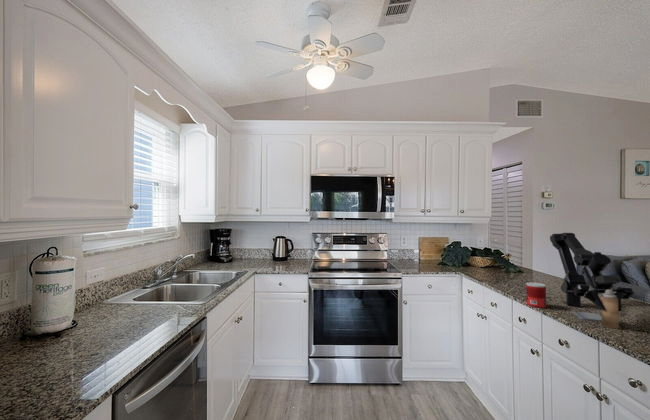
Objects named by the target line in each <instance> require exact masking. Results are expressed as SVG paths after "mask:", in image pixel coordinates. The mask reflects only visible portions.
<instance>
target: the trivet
mask: <svg viewBox="0 0 650 420" xmlns="http://www.w3.org/2000/svg"><path fill="white" fill-rule="evenodd" d="M572 314H573V315H575V316H576V317H577V318H579V319H580V320H581V319H582V320H581V321H587V320H588V321H589V322H597V321H600V323H602V318H601V315H600V314H598V313H596V312H595V313H593V312H584V311H574V310H573V311H572Z"/></svg>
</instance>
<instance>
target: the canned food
mask: <svg viewBox="0 0 650 420" xmlns="http://www.w3.org/2000/svg"><path fill="white" fill-rule="evenodd" d="M525 289H526V295H525V296H526V305H527V306H529V307H532V308H537V309H545V308H546V307H547V285H546V284H544V283H539V282H533V281H532V282H530V281H529V282H526V284H525Z"/></svg>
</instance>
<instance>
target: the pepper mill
mask: <svg viewBox="0 0 650 420" xmlns="http://www.w3.org/2000/svg"><path fill="white" fill-rule="evenodd" d="M610 289H611V288H610ZM610 289H608V290H606V291H605V293H603V294H602V295H601V296H600V300H601V302H602V304H603V305H604V308H605V310H602V309H601V308H600V309H601V313H600V314H601V315H600V316H601V318H602V322H601V326H602V325H603V326H602V327H605V328H608V329H616V330H617V329H620V326H619V319H620V318H619V317H620V316H619V311H618V298H616V295H614V292H613V291H612V290H613V289H612V290H610Z"/></svg>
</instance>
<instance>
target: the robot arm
mask: <svg viewBox="0 0 650 420" xmlns="http://www.w3.org/2000/svg"><path fill="white" fill-rule="evenodd" d="M549 240H550V242H551V244H552V247H554V248H555V249H556V250H557V251H558V253H559V257H560V260H561V261H560V262H561V264H562V266H563V270H564V274H565V276H564V278H563V283H562V284H561V285H560V291H561V292H563V293H565V300H563V301H562V302H563V303H564V304H565V305H566V306H569V307H570V306H571V307H579V308H585V305H583V304H582V297H584V299H588V300H589V301H590V302H592V303H593V304H594V305H596V306H597V307H598V308H599V309H602V310H605V308H604V305H603V304H602V302H601V297H599V295H603V293H605V291H606V290H608V289H610V290H612V291H613V292H614V295H616V298H618V312H621V311H622V300H629V299H630V298H631V297H632V296H633V295H634V294H635V290H634V289H633V288H632V287H627V286H618V287H617V288H616V289H612V288H613V287H614V285H617V284H618V283H619V284H620V283H621V282H622V281H621V280H622V279H621V277H620V276H619V275H618V274H611V275H604V274H603V273H602V272H604V271H605V270H606V269H607V267H608V266H609V265H610V264H611V262H612V261H611V258H610V257H609V256H607V255H605V254H602V252H599V251H594V253H593V252H592V251H590V250H589V249H586V248H585V247H584V246H583V244H581V242H580V241H579V239H578V238H577V236H576V234H575V233H573V232H561V233H552V234H551V235H550V236H549ZM572 254H573V255H572ZM576 265H577V266H578V267H579V266H581V267H582V270H581V274H579V273H578V271H577V267H576ZM584 275H585V276H584ZM585 277H586V279H587V281H586V279H585Z"/></svg>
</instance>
